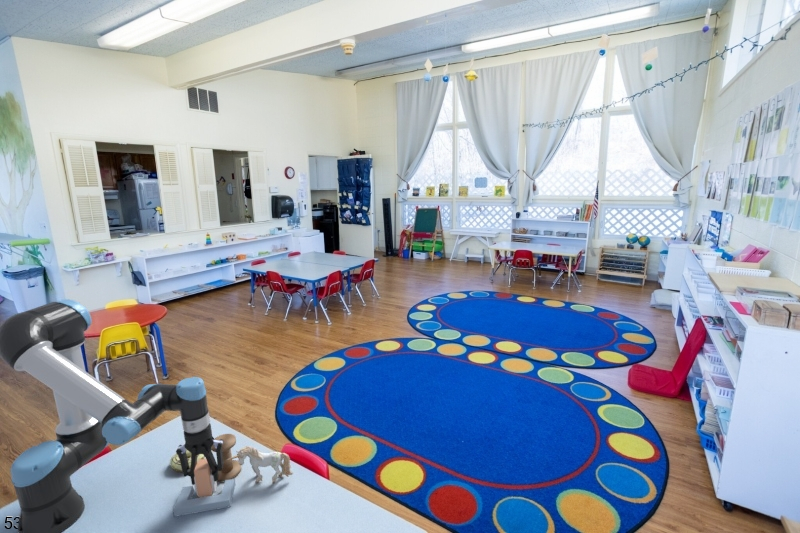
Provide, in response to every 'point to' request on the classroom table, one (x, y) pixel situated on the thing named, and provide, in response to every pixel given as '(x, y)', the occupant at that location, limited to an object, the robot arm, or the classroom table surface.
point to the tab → (203, 478)
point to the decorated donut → (177, 465)
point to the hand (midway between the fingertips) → (207, 490)
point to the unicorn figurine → (265, 461)
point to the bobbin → (230, 466)
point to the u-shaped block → (204, 500)
